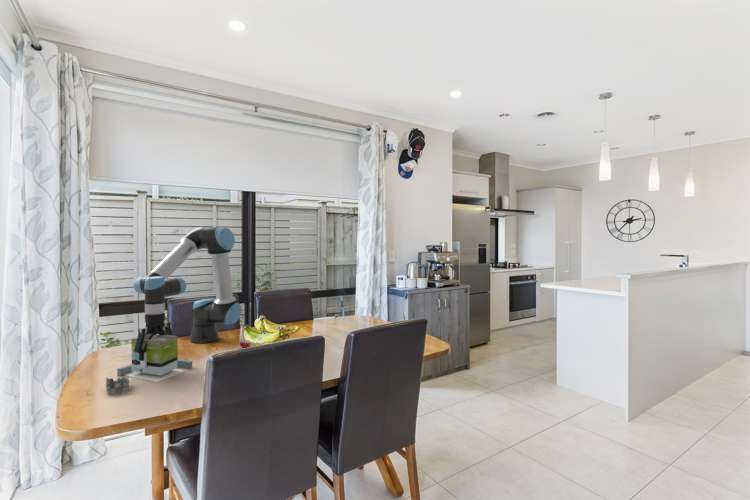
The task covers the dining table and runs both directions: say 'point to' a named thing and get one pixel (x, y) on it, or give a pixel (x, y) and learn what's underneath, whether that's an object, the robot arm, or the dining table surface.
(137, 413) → the dining table surface
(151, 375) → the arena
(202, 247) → the robot arm
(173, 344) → the tea box
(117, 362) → the dining table surface
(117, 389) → the egg carton
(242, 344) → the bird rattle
